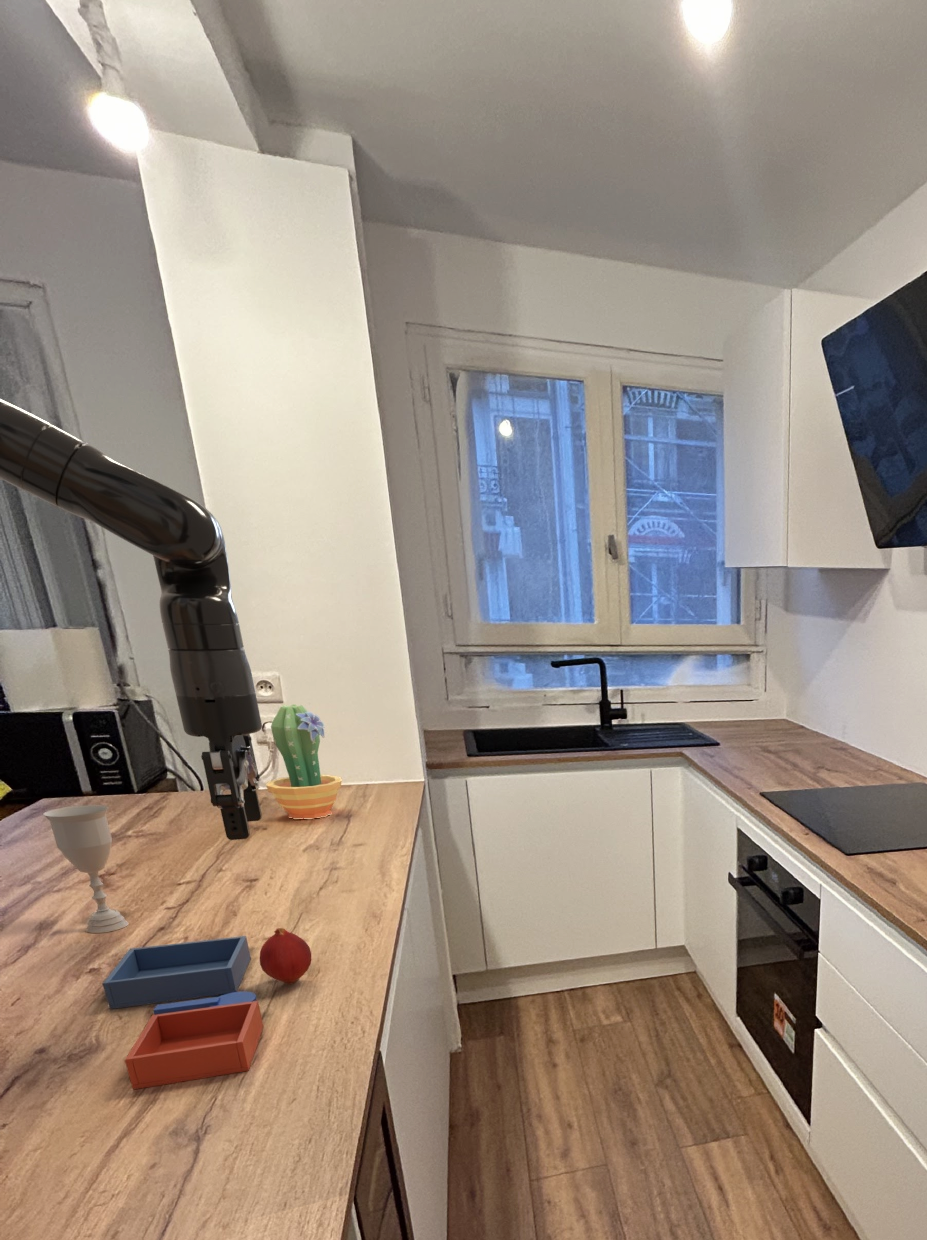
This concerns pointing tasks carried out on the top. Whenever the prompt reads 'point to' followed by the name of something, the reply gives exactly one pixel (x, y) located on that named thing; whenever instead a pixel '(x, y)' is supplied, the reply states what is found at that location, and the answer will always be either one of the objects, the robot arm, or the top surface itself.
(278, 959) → the onion
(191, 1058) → the terracotta bin
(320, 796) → the potted cactus
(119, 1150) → the top surface
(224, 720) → the robot arm
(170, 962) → the blue bin
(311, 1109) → the top surface
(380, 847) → the top surface
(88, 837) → the chalice
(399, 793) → the top surface
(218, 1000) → the blue paddle
